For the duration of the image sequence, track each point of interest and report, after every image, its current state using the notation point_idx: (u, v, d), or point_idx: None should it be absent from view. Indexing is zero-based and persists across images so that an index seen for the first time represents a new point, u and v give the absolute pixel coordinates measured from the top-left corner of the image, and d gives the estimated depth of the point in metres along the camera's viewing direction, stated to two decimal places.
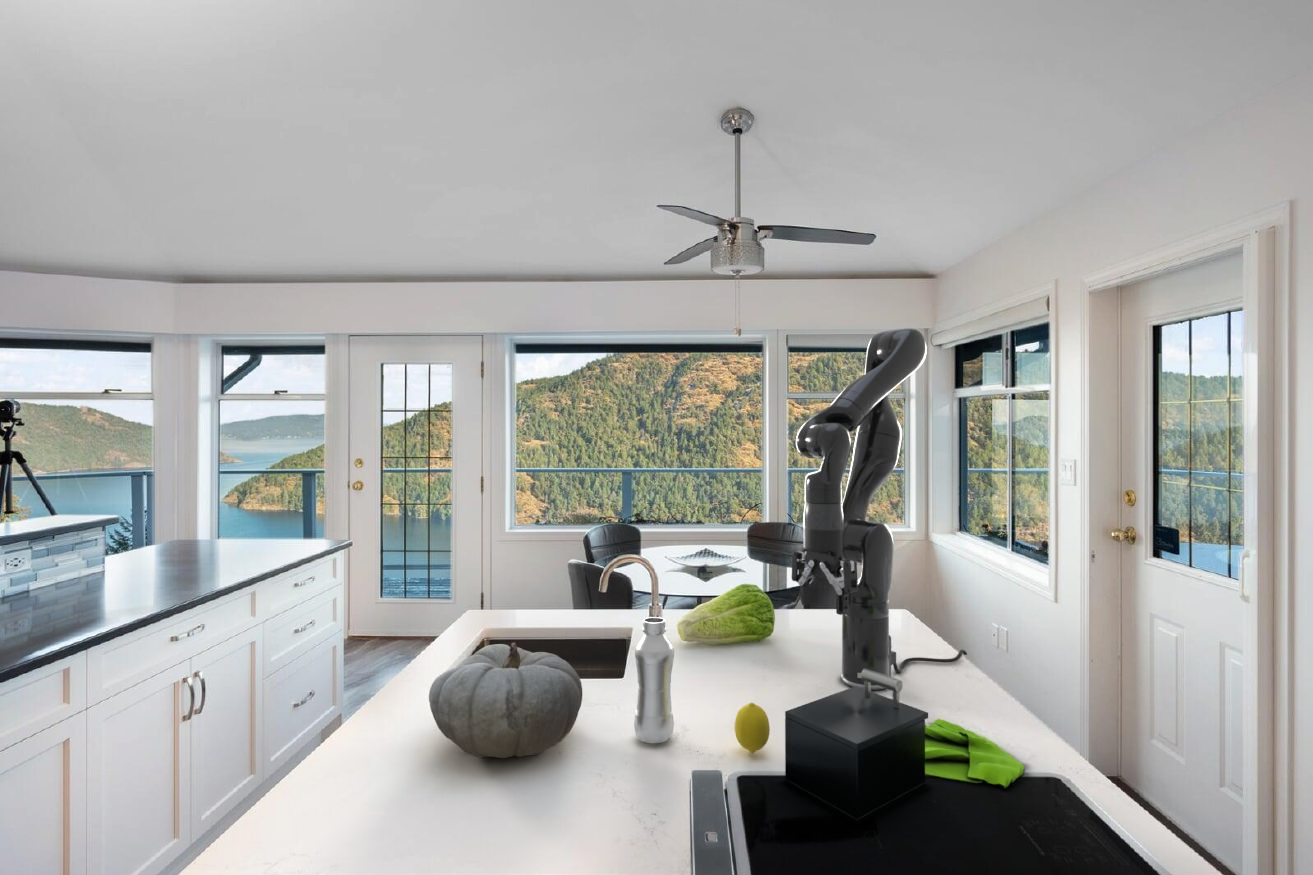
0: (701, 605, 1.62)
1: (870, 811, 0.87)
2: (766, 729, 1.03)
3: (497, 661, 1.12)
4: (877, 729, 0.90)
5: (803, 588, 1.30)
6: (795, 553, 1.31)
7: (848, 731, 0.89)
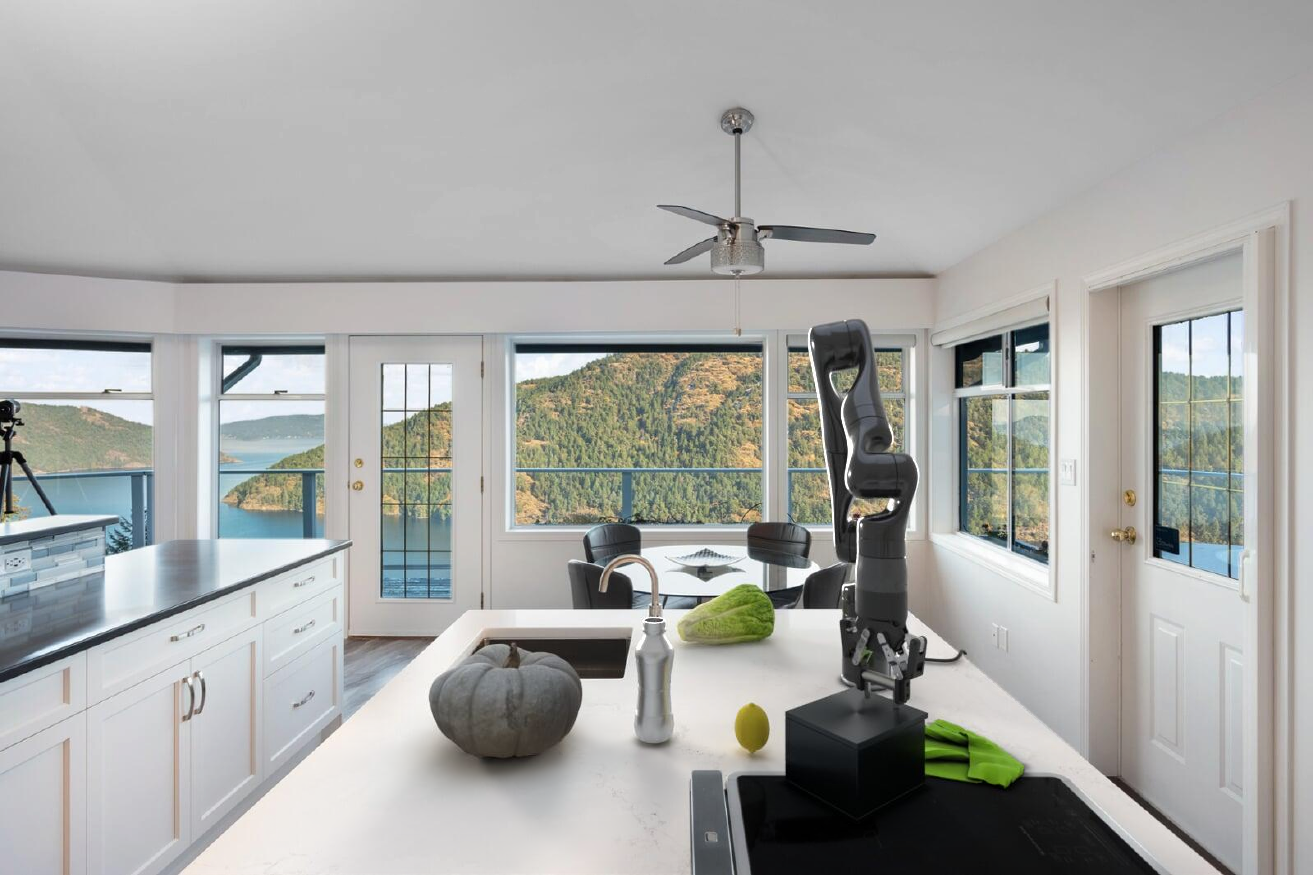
0: (701, 605, 1.62)
1: (870, 811, 0.87)
2: (766, 729, 1.03)
3: (497, 661, 1.12)
4: (877, 729, 0.90)
5: (859, 668, 1.01)
6: (843, 621, 1.03)
7: (848, 731, 0.89)
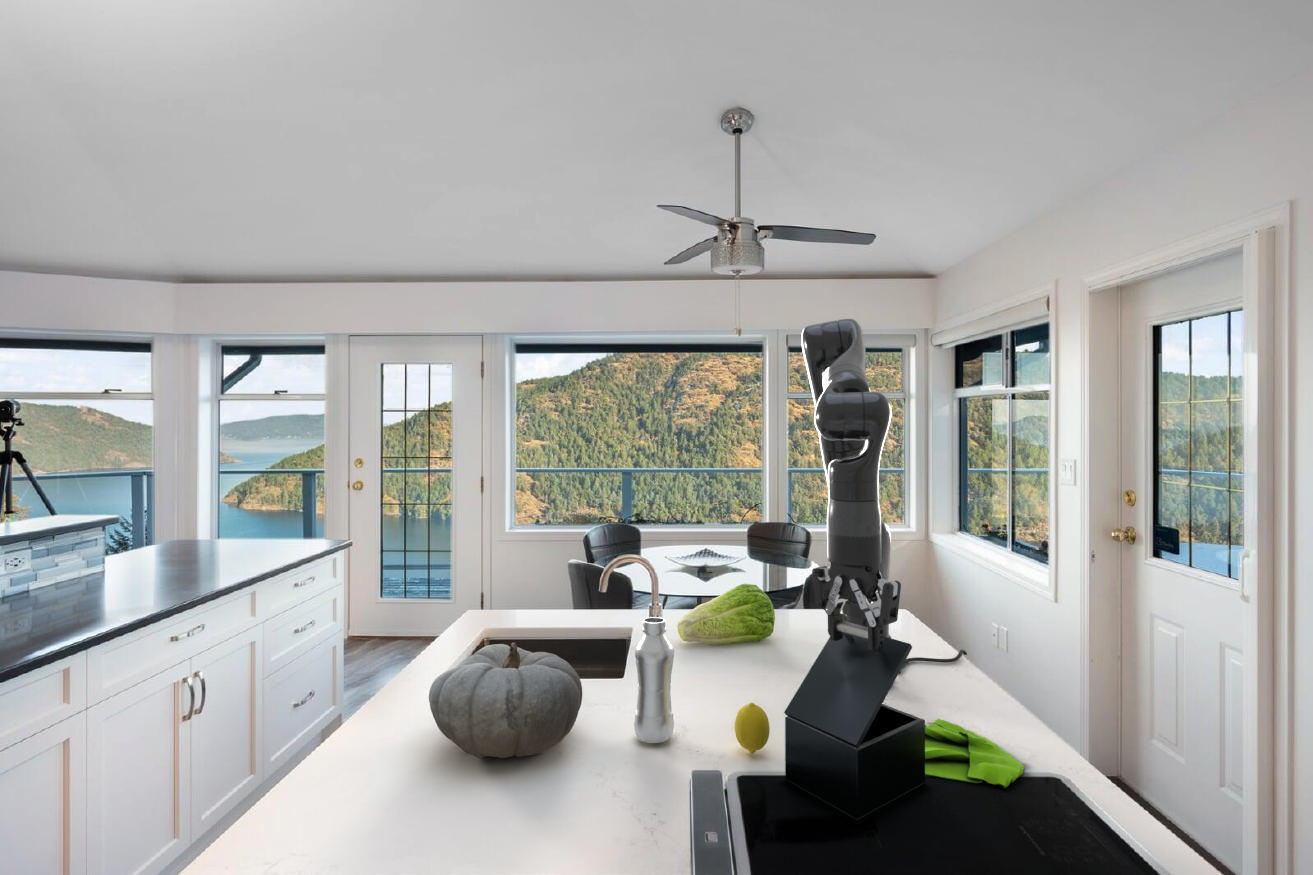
0: (701, 605, 1.62)
1: (870, 811, 0.87)
2: (766, 729, 1.03)
3: (497, 661, 1.12)
4: (869, 705, 0.89)
5: (832, 618, 0.97)
6: (815, 570, 0.99)
7: (844, 723, 0.89)
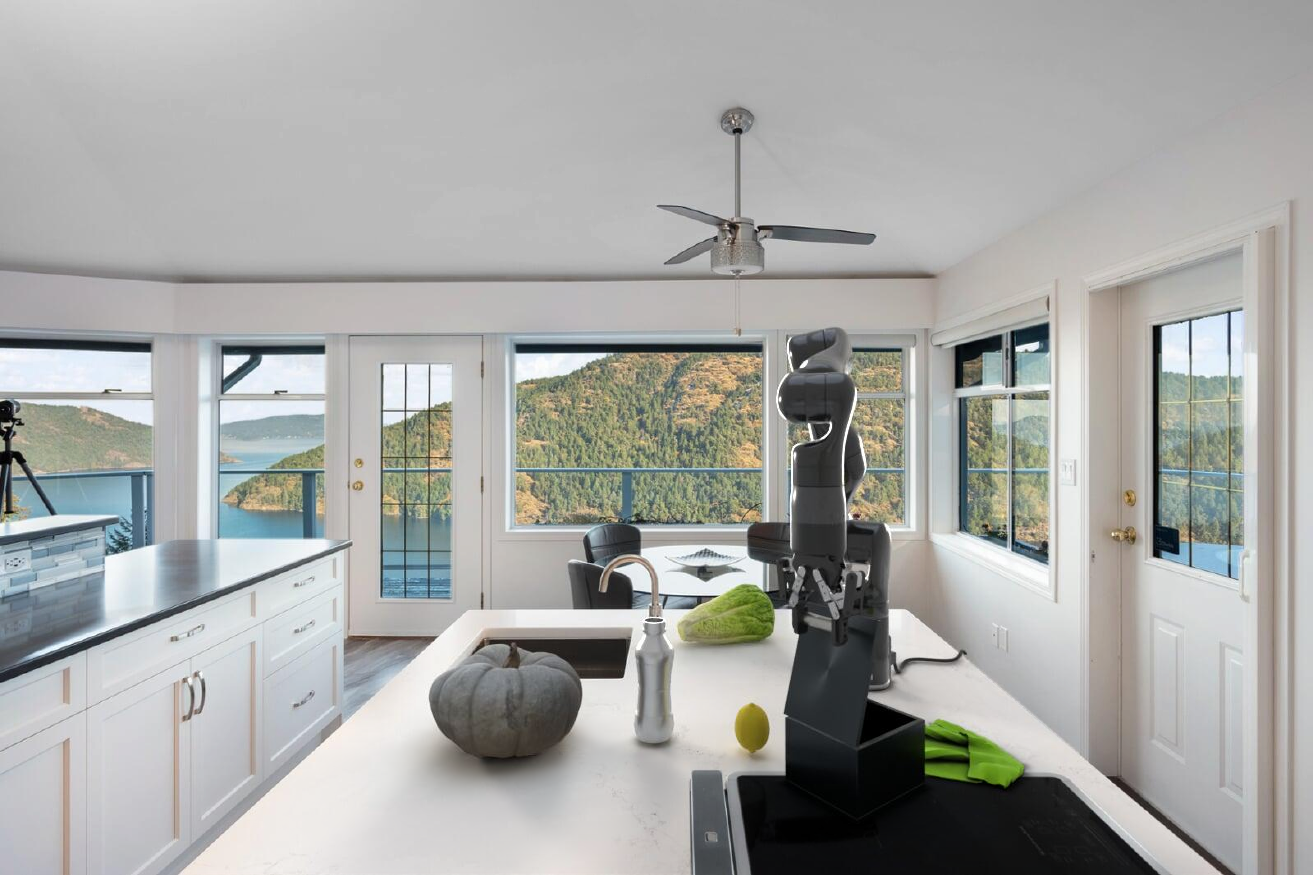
0: (701, 605, 1.62)
1: (870, 811, 0.87)
2: (766, 729, 1.03)
3: (497, 661, 1.12)
4: (856, 699, 0.87)
5: (796, 610, 0.92)
6: (779, 560, 0.95)
7: (839, 722, 0.88)
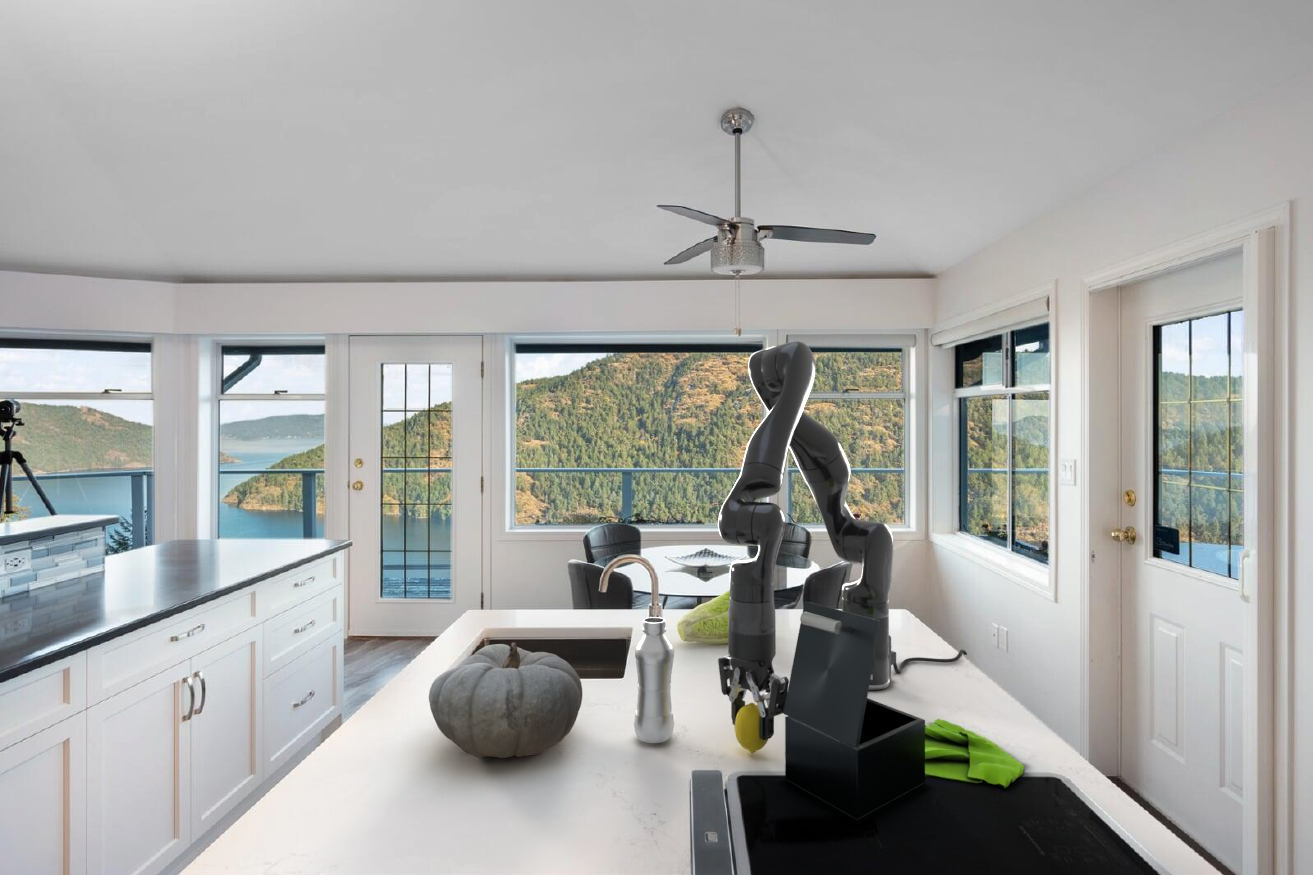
0: (701, 605, 1.62)
1: (870, 811, 0.87)
2: None
3: (497, 661, 1.12)
4: (856, 699, 0.87)
5: (734, 705, 1.07)
6: (720, 659, 1.09)
7: (839, 722, 0.88)
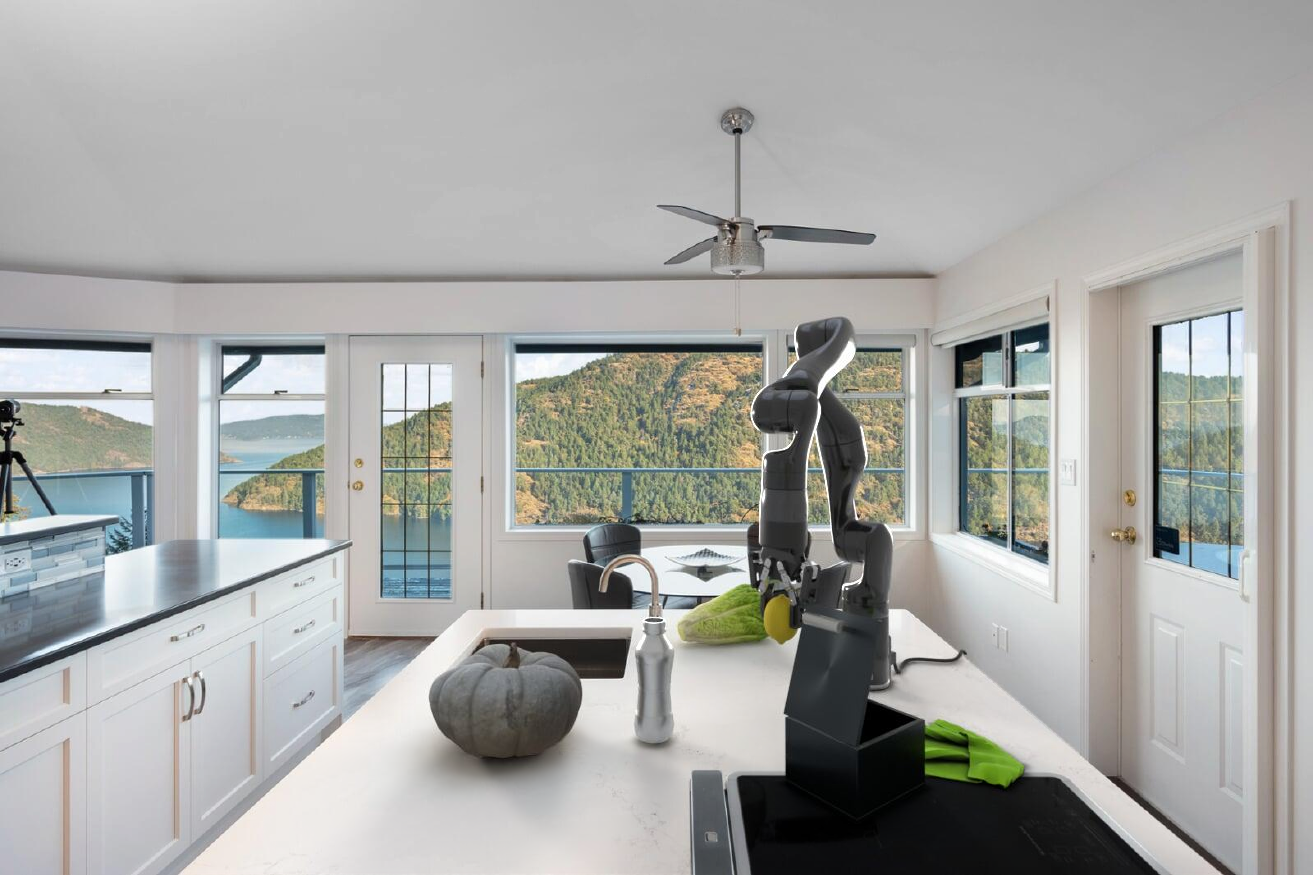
0: (701, 605, 1.62)
1: (870, 811, 0.87)
2: None
3: (497, 661, 1.12)
4: (857, 699, 0.87)
5: (763, 598, 1.05)
6: (750, 553, 1.08)
7: (839, 722, 0.88)
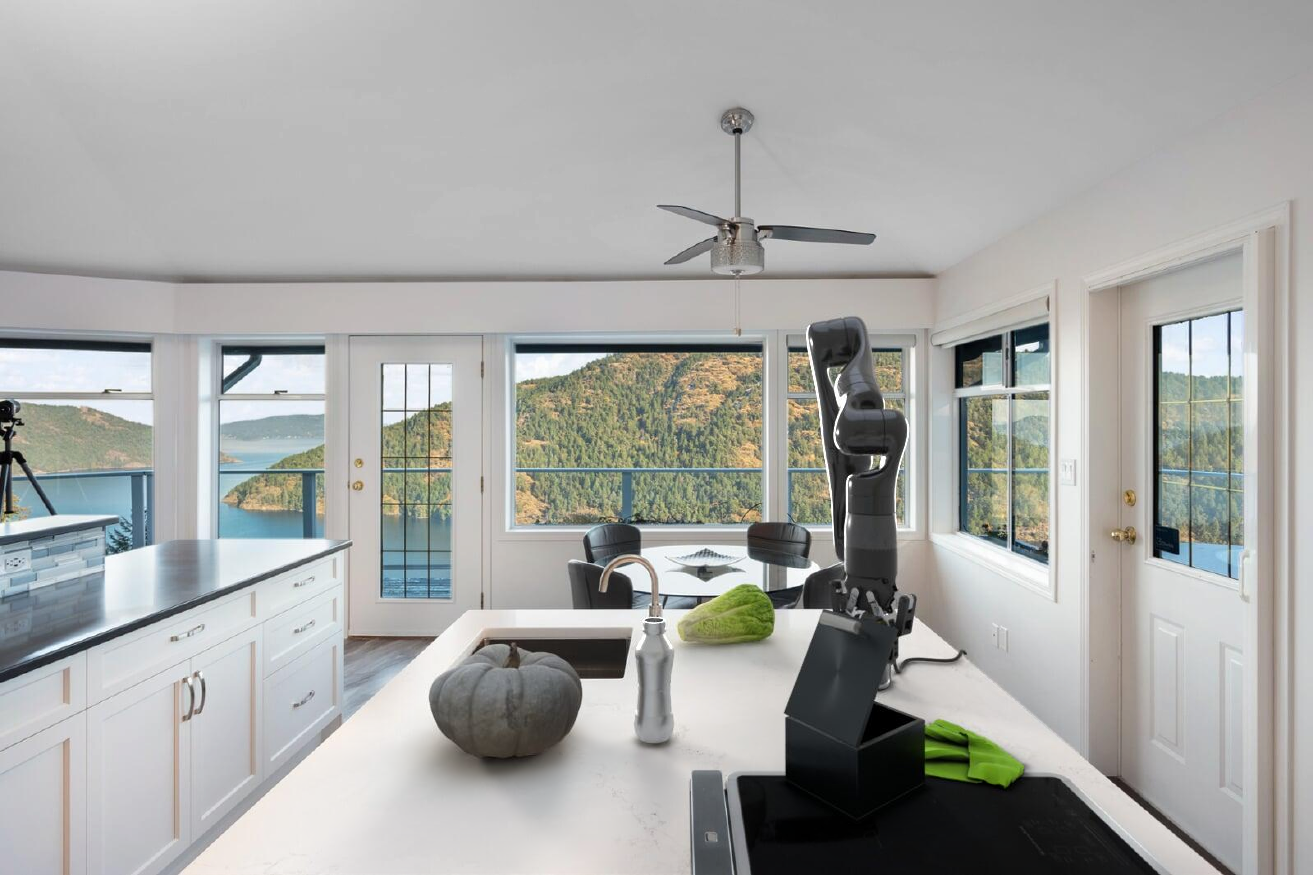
0: (701, 605, 1.62)
1: (870, 811, 0.87)
2: None
3: (497, 661, 1.12)
4: (863, 700, 0.88)
5: None
6: (832, 582, 1.02)
7: (842, 722, 0.88)
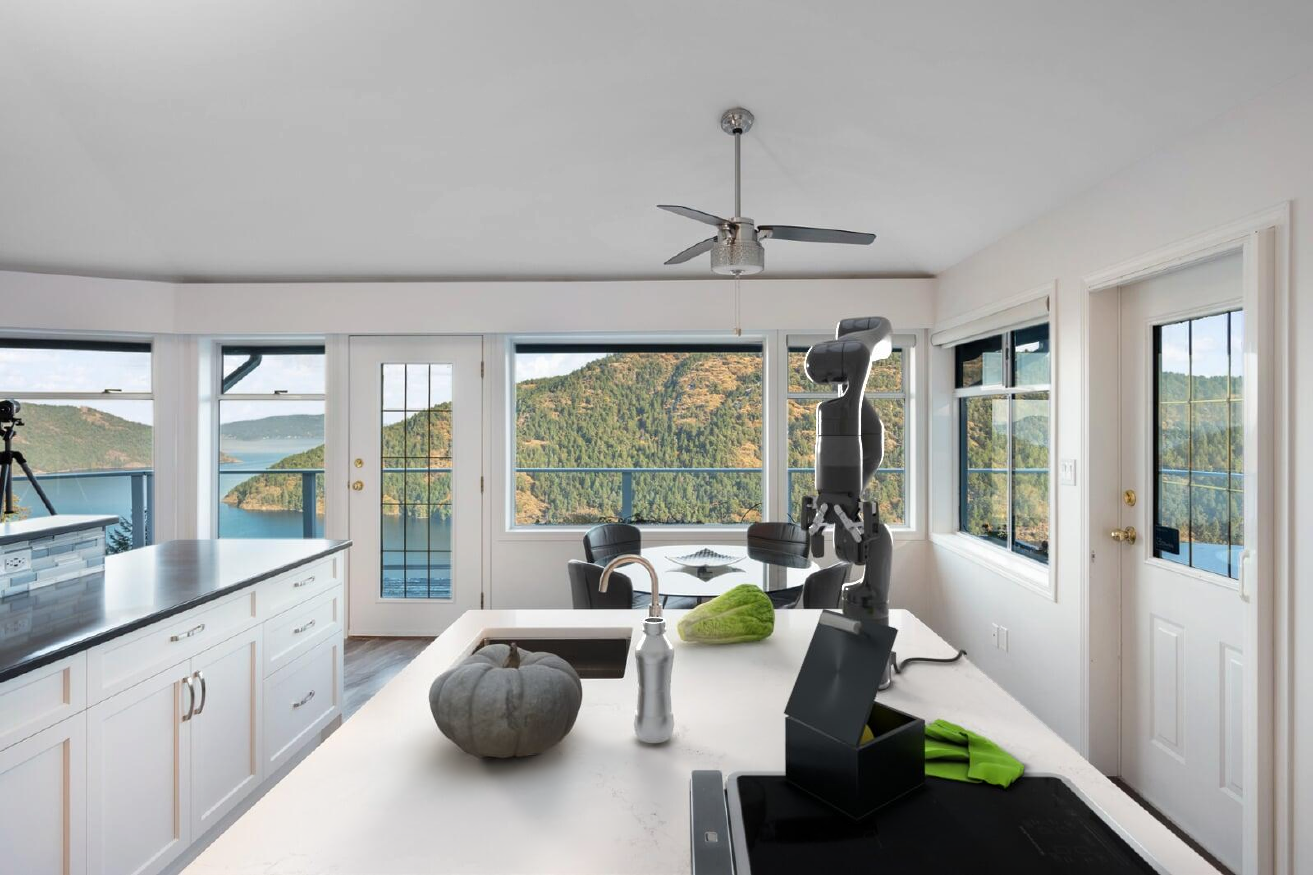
0: (701, 605, 1.62)
1: (870, 811, 0.87)
2: (866, 733, 0.97)
3: (497, 661, 1.12)
4: (863, 700, 0.88)
5: (814, 538, 1.11)
6: (805, 497, 1.13)
7: (842, 722, 0.88)
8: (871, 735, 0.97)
